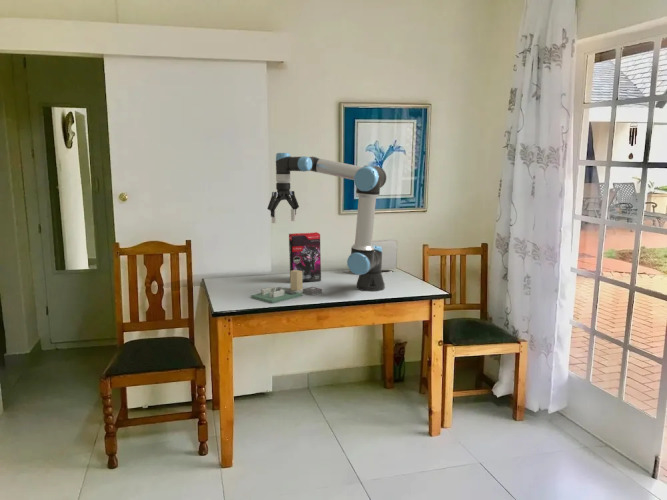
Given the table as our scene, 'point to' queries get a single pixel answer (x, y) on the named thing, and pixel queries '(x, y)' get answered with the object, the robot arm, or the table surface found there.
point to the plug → (296, 280)
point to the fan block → (312, 290)
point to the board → (276, 295)
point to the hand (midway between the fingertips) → (283, 222)
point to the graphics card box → (305, 255)
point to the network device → (387, 253)
